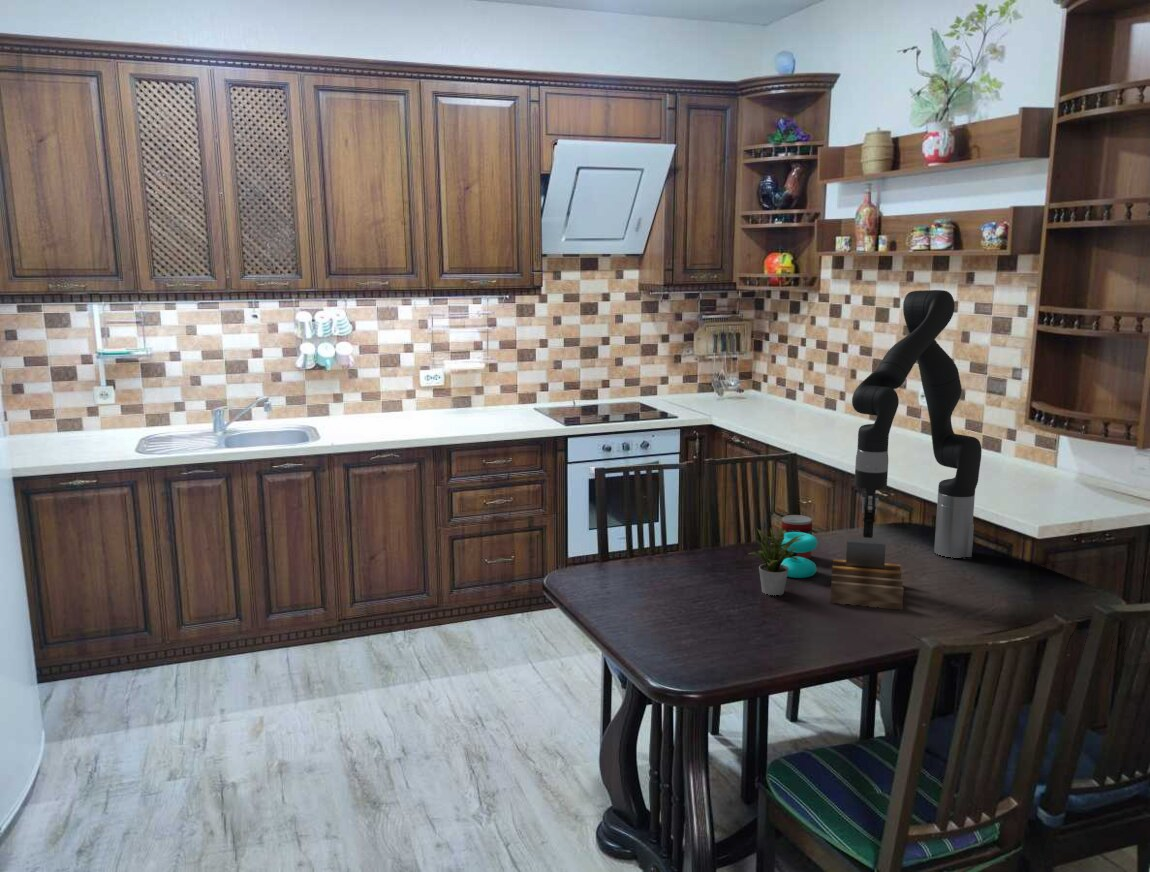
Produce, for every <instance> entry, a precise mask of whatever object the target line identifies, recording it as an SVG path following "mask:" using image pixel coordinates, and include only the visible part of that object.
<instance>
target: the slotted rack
mask: <svg viewBox="0 0 1150 872" xmlns="http://www.w3.org/2000/svg"><path fill="white" fill-rule="evenodd" d="M831 570H832V573H831V582H830V583H831V586H830V604H834V603H839V604H838V605H845V604H851V605H850V606H856V605H861V606H860V607H866V606H869V607H868V608H877V607H879V608H878V609H889V610H898V609H900V611H902V610H903V604H904V603H903V602H904V590H905V589H904V587H903V579H902V571H901V564H898V563H887V562H886V563H885V564H884V570H880V569H868V568H856V567H846V559H839V558H836V559H835V558H833V559H832V569H831Z"/></svg>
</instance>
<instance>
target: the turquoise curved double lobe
mask: <svg viewBox="0 0 1150 872" xmlns="http://www.w3.org/2000/svg"><path fill="white" fill-rule="evenodd" d="M801 535H804V536H801ZM797 536H801V537H798V538H797V539H800V541H797V542H793V543H792V544H791V545H790V546H792V547H788V549H787V550H788V551H791V550H793V549H796V550H794V551H792V552H795V553H805V552H809V551H811V552H812V551H813V550H815V549H816V548H817V547H818V543H819V542H818V539H817V538H816V536H814V535H813V534H812V535H811V534H808V533H803V532H788V533H784V540H783V542H782V544H785V543H788V542H789V541H790V540H791V539H793V538H795V537H797ZM795 540H796V539H795ZM782 544H781V545H782ZM784 546H785V545H784ZM784 546H782V547H781V548H783V547H784ZM781 548H780V549H781ZM785 549H786V548H785ZM797 559H798V560H796V559H793V558H786V559H784V561H783V562H782V563H781V564H782V565H783V564H784V563H785V564H784V565H785V566H787V567H788V574H787V578H794V579H806V578H810V577H813V576H814V575H815V574H816V573H817V571H818V570H817V569H818V567H817V565H816V564H815V562H814V561H812V560H811V559H807V558H803V557H797ZM788 560H789V561H788Z"/></svg>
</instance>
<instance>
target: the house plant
mask: <svg viewBox="0 0 1150 872" xmlns="http://www.w3.org/2000/svg"><path fill="white" fill-rule="evenodd" d="M756 530H757V531H758V534H759V537H760V539H761V542H760V541H759V540H758V539H757V538H755V537H753V536H751V538H752V539H753V540H754V541H755V542H756V543H757V544H758V546H759V547H760V548H761V550H757V552H755V551H751V552H748V555H753V556H757V557H760V558H761V559H762V560H763V561H764V562H765V563H763V564H760V565H759V566H758V571H759V578H760V584H761V592H762V593H763V594H764V593H765V594H764V595H766V594H768V595H767V596H770V595H773V596H772V597H777V596H776V595H779V596H782V595H784V593H785V588H786V583H787V578H788V576H787V574H788V567H787V566H785V565H784V564H785V563H784V564H783V565H782V564H781V563H782V562H783V561H784V559H786V558H793V559H796V560H798V559H797V557H792V556H790V555H793V554H794V553H792V551H794V550H796V549H793V550H791V551H789V552H787V553H785V552H786V551H788V550H787V549H788V547H792V546H790V545H791V544H792V543H793V542H797V541H800V539H797V538H798V537H801V536H804V535H801V536H797V537H795V538H793V539H791V540H790V541H789V542H788V543H785V544H782V542H783V540H784V533H785V530H784V531H783V527H782V526H781V530H780V532H779V534H778V537H777V539H776V538H775V535H774V532H773V529H772V528H771V527H769V530H770V536H768V538H769V539H770V541H771V542H770V545H769V543H768V539H767V537H766V535H765V534H764V533H763V532H762V530H760V529H758V528H756ZM795 539H796V540H795ZM781 544H782V545H781ZM784 545H785V546H784ZM782 546H784V547H783V548H782V550H781V547H782ZM785 548H786V549H785ZM784 553H785V554H784ZM781 554H782V555H781ZM788 561H789V560H788ZM774 595H775V596H774Z"/></svg>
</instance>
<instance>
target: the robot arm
mask: <svg viewBox="0 0 1150 872" xmlns="http://www.w3.org/2000/svg"><path fill="white" fill-rule="evenodd" d="M902 304H903V305H902V313H903V319H904V322H905V326H906V328H907V331H908V334H907V335H906V336H904V337H903V338H902V339H900V340H899V341H897V342H896V343H895V344H894V345H893V346H892V347H891V348H889V349H888V350H887V352H886V353H885V354H884V356H883V358H882V360H881V361H880V363H879V365H878V366H877V368H876V369H875V370H874V371H872V373H870V374H868V376H867V377H866V378H865V379H863V381H861V383H860V384H859V385H858V386H857V387H855V390H854V391H853V394H852V398H851V405H852V408H853V409H854V411H856V412H857V413H858V414H862V415H870V416H876V418H875V421H874V423H867V424H862V425H861V426H860V427H859V428H858V433H857V434H858V435H857V451H856V456H855V465H854V466H855V467H854V470H855V471H854V486H855V487H856V488H858V489H862V490H863V489H864V492H861V496H860V497H861V513H862V515H863V517H862V522H863V529H862V530H863V532H862V537H863V538H868V539H873V535H874V532H873V531H874V523H875V522H876V519H875V517H876V515H877V514H878V513H877V512H878V504H879V500H880V497H879V493H876V491H878V490H885V489H886V488H887V487H888V474H889V473H888V472H889V438H890V437H889V436H890V431H891V428H892V425H893V422H894V419H895V416H896V413H897V412H898V411H897V410H898V408H899V401H900V400H899V395H898V393H897V392H896V389H899V388H901V387H902V385H903V384H904V382H905V381H906V379H907V378H908V375H910V373H911V371H912V369H913V367H914V365H915V364H916V363H917V366H918V370H919V375H920V380H921V381H920V382H921V385H922V390H923V394H924V397H925V402H926V407H927V411H928V418H929V422H930V432H931V440H932V442H931V444H932V450H933V455H934V458H935V461H936V462H937V463H938V464H939V465H940V466H943V467H946V468H952V469H956V473H955V476H954V477H953V478H947V479H943V480H941V481H940V482H938V489H937V504H936V517H935V519H936V520H935V535H934V546H933V547H934V548H933V549H934V551H933V552H934V553H936V554H935V555H937V554H938V555H937V556H939V555H941V556H940V557H942V556H945V557H944V558H946V557H951V558H950V559H953V558H961V557H972V556H973V555H972V554H973V542H974V532H975V529H974V527H975V524H974V511H975V509H974V508H975V499H976V497H975V496H976V489H977V485H978V483H979V476H980V470H981V467H980V466H981V462H982V460H981V459H982V451H983V450H982V444H981V442H980V440H979V439H978V438H977V437H975V436H971V435H964V434H958V433H955V432H954V429H953V425H952V415H953V412H954V410H955V409H956V406H957V404H958V403H959V400H960V399H961V395H962V391H963V389H962V383H961V378H960V374H959V369H958V367H957V365H956V363H955V362H954V360H953V359H952V358H951V356H950V355H949V354H948V353H947V352H946V351H945V350H944V349H943V348H942V346H940V344H939V343H938V342H937V340H936V338H937V337H938V336H939V335H940V334H941V333H942V331H943V330H944V329H945V328H946V327H947V326H948V324H950V322H951V319H952V318H953V316H954V312H955V307H956V305H955V299H954V297H953V295H952V294H951V292H950V291H948V290H943V289H928V290H923V289H922V290H920V289H919V290H911V291H910V292H908V293H907V294H906V295H905V296H904V299H903V303H902ZM952 557H953V558H952Z"/></svg>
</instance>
